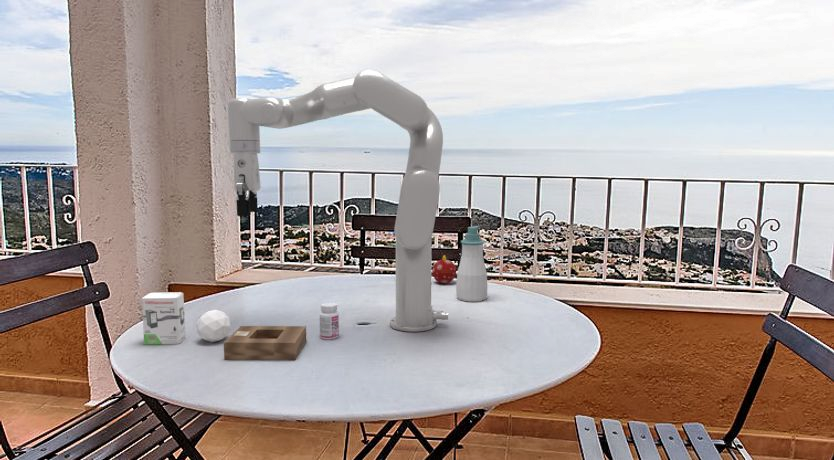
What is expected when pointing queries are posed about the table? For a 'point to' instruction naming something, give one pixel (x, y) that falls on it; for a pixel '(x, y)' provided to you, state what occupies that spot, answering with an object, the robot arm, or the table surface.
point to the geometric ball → (213, 325)
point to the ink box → (163, 318)
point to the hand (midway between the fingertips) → (247, 213)
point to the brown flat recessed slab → (265, 343)
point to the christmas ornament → (444, 270)
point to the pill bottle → (329, 321)
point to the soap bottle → (472, 269)
